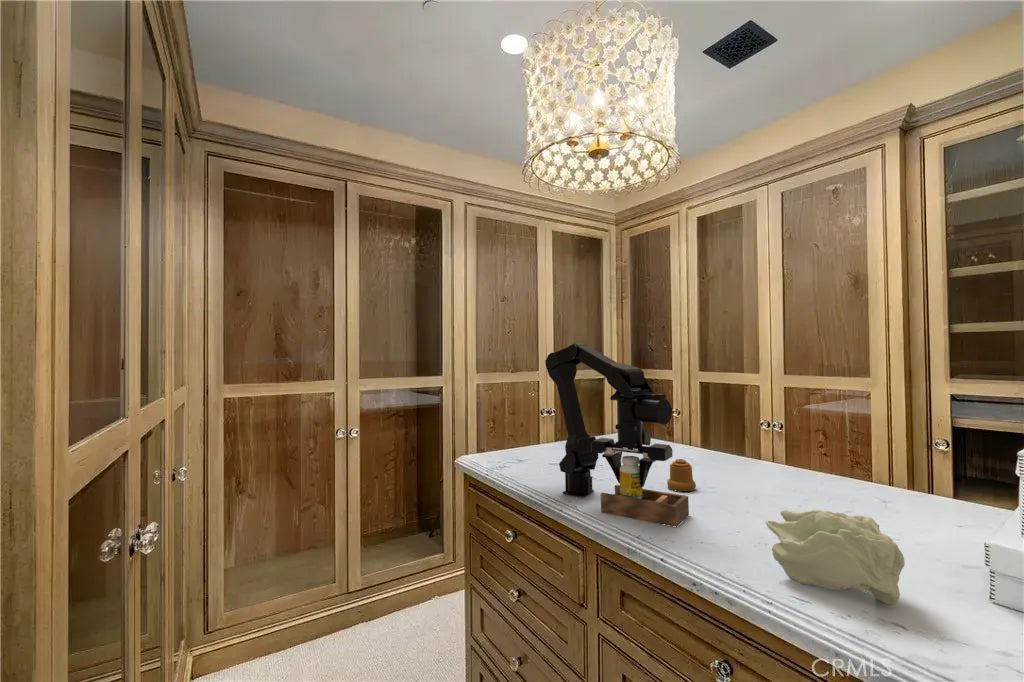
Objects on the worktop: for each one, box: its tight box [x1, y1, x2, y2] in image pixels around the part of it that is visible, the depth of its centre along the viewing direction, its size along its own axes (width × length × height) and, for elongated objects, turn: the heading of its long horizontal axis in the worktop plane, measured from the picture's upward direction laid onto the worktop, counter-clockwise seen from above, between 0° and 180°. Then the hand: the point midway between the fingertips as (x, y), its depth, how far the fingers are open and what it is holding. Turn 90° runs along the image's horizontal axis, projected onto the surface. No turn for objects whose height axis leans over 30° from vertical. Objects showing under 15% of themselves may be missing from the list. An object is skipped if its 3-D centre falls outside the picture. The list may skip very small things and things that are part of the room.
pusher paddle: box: [655, 495, 668, 504], centre depth 111 cm, size 1×6×3 cm, turn 144°
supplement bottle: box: [619, 455, 644, 499], centre depth 115 cm, size 5×5×10 cm
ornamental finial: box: [666, 458, 697, 492], centre depth 133 cm, size 8×8×8 cm
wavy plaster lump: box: [765, 509, 906, 605], centre depth 77 cm, size 18×13×16 cm
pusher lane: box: [600, 484, 690, 528], centre depth 113 cm, size 18×9×4 cm, turn 53°
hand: (631, 484), depth 115 cm, fingers closed on supplement bottle, 5 cm apart
